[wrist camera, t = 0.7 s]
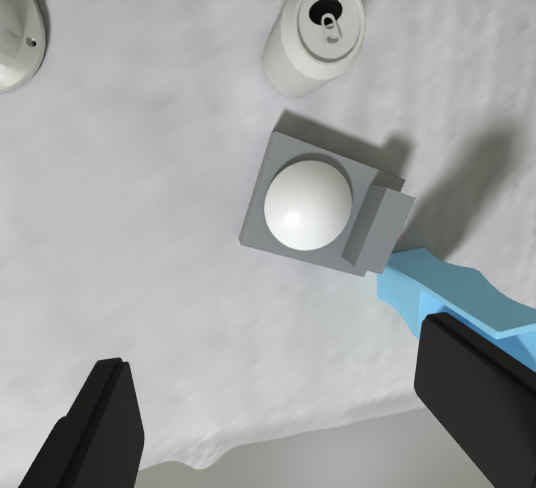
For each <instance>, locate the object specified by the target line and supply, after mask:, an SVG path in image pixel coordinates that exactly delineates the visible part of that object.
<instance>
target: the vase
mask: <svg viewBox="0 0 536 488" xmlns="http://www.w3.org/2000/svg"><path fill="white" fill-rule="evenodd" d="M377 293H378V298H379V299H380V300H382V301H384V302H386V303H387V304H389V305H390V306H392V307H393V308H394V309H395V310H397V311H398V312H399V314H400V315H401V316H402V317H403V319H404V320H405V322H406V323H407V325H408V326H409V328H410V330H411V332H412V333H413V335H414V336H415V337H416V338H417V339H419V340H420V332H421V324H422V321H423V320H424V319H425V317H426V316H427V315H428V314H433V313H440V312H447V313H449V314H450V315H452V316H453V317H455V318H456V319H458V320H459V321H461V322H462V323H464V324H465V325H467V326H468V327H470V328H471V329H473V330H474V331H475V332H477V333H478V334H480V335H481V336H483V337H484V338H486V339H487V340H489V341H490V342H492V343H493V344H495V345H496V346H498V347H499V348H500V349H502V350H503V351H505V352H506V353H508V354H509V355H511V356H512V357H514V358H515V359H517V360H518V361H520V362H521V363H523V364H524V365H526V366H527V367H528V368H530V369H531V370H533V371H534V372H536V309H534V308H531V307H528V306H525V305H523V304H520V303H518V302H516V301H514V300H512V299H510V298H508V297H507V296H505V295H504V294H502V293H501V292H499V291H498V290H497V289H496V288H495V287H494V286H492V285H491V284H490V283H489V282H488V280H487V279H486V278H485V277H484V276H483V275H482V274H481V273H480V271H478V270H476V269H473V268H468V267H462V266H457V265H453V264H449V263H446V262H444V261H441V260H440V259H438V258H436V257H435V256H434V255H432V254H431V253H430V252H429V251H428V250H427V249H426V248H425V247H423V248H417V249H412V250H407V251H401V252H396V253H391V255H390V257H389V259H388V262H387V264H386V266H385V268H384V271H383V273H382V274H379V273H377Z"/></svg>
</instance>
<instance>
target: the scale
mask: <svg viewBox="0 0 536 488" xmlns="http://www.w3.org/2000/svg"><path fill="white" fill-rule="evenodd" d="M404 182H405V179H402V178H399V177H397V176H394V175H391V174H389V173H386V172H383V171H381V170H378V169H375V168H373V167H370V166H367V165H365V164H362V163H359V162H357V161H354V160H351V159H349V158H346V157H343V156H341V155H338V154H335V153H333V152H330V151H327V150H325V149H322V148H319V147H317V146H314V145H311V144H309V143H306V142H303V141H301V140H298V139H295V138H293V137H290V136H287V135H285V134H282V133H279V132H277V131H276V132H273V133H271V136H270V139H269V142H268V145H267V149H266V152H265V155H264V158H263V162H262V165H261V168H260V171H259V174H258V178H257V181H256V184H255V187H254V191H253V194H252V197H251V200H250V203H249V207H248V210H247V213H246V216H245V219H244V223H243V226H242V229H241V232H240V236H239V241H240V244H241V245H244V246H247V247H251V248H255V249H259V250H263V251H267V252H270V253H274V254H278V255H282V256H286V257H289V258H293V259H297V260H301V261H305V262H308V263H312V264H316V265H320V266H324V267H328V268H331V269H335V270H339V271H343V272H347V273H350V274H354V275H358V276H362V277H364V275H365V273H366V271H367V270H368V271H371V272H375V273H379V274H382V273H383V271H384V268H385V266H386V264H387V262H388V259H389V257H390V255H391V253H392V250H393V248H394V246H395V243H396V241H397V239H398V237H399V236H400V235H401V234H400V232H401V230H402V228H403V225H404V223H405V221H406V218H407V216H408V214H409V212H410V209H411V207H412V205H413V203H414V200H415V198H414V197H412V196H409V195H406V194H403V193H400V191H401V189H402V186H403V184H404Z"/></svg>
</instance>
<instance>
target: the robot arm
mask: <svg viewBox="0 0 536 488" xmlns="http://www.w3.org/2000/svg"><path fill="white" fill-rule="evenodd" d="M35 42H36V46H35V47H34V43H35ZM45 45H46V43H45V28H44V23H43V18H42V15H41V12H40V10H39V7H38V5H37V2H36V1H35V0H0V93H2V92H6V91H11V90H14V89H16V88H18V87H20V86H22V85H23V84H25V83H26V82H27V81H28V80H30V79H31V78H32V77H33V75H34V74H35V73H36V71H37V70H38V69H39V66H40V64H41V62H42V59H43V56H44V51H45ZM414 389H415V392H416V394H417V395H418V397H419V398H420V399H421V400H422V402H423V403H424V404H425V405H426V406H427V407H428V409H429V410H430V411H431V412H432V413H433V415H434V416H435V417H436V418H437V419H438V420H439V422H440V423H441V424H442V425H443V426H444V428H445V429H446V430H447V431H448V432H449V433H450V435H451V436H452V437H453V438H454V440H456V442H457V443H458V444H459V445H460V446H461V448H462V449H463V450H464V451H465V453H466V454H467V455H468V456H469V457H470V459H471V460H472V461H473V462H474V463H475V464H476V466H477V467H478V468H479V469H480V470H481V472H482V473H483V474H484V475H485V476H486V477H487V479H488V480H489V481H490V482H491V483H492V485H493V486H494V487H495V488H536V372H534V371H533V370H531V369H530V368H528V367H527V366H526V365H524V364H523V363H521V362H520V361H518V360H517V359H515V358H514V357H512V356H511V355H509V354H508V353H506V352H505V351H503V350H502V349H500V348H499V347H498V346H496V345H495V344H493V343H492V342H490V341H489V340H487V339H486V338H484V337H483V336H481V335H480V334H478V333H477V332H475V331H474V330H473V329H471V328H470V327H468V326H467V325H465V324H464V323H462V322H461V321H459V320H458V319H456V318H455V317H453V316H452V315H450V314H449V313H447V312H440V313H433V314H428V315H427V316H426V317H425V319H424V320H423V321H422V324H421V332H420V340H419V348H418V356H417V364H416V372H415V379H414ZM143 447H144V430H143V425H142V420H141V416H140V411H139V407H138V402H137V397H136V393H135V388H134V383H133V379H132V374H131V369H130V365H129V363H128V362H123V361H122V359H121V358H111V359H104V360H99V361H97V362H96V364H95V366H94V367H93V369H92V371H91V373H90V374H89V376H88V378H87V380H86V382H85V383H84V385H83V387H82V389H81V390H80V392H79V394H78V396H77V397H76V399H75V401H74V403H73V405H72V406H71V408H70V410H69V412H68V413H67V415H66V416H64V417H62V418H61V419H59V420H58V422H57V423H56V424H55V426H54V427H53V429H52V431H51V432H50V434H49V436H48V438H47V439H46V441H45V443H44V444H43V446H42V448H41V449H40V451H39V453H38V455H37V456H36V458H35V460H34V461H33V463H32V465H31V467H30V468H29V470H28V472H27V473H26V475H25V477H24V479H23V480H22V482H21V484H20V485H19V487H18V488H134V485H135V481H136V477H137V472H138V468H139V464H140V460H141V456H142V451H143Z"/></svg>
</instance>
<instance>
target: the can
mask: <svg viewBox="0 0 536 488" xmlns="http://www.w3.org/2000/svg"><path fill="white" fill-rule="evenodd" d="M365 30H366V15H365V11H364V7H363V3H362V1H361V0H288V1H287V3H286V5H285V7H284V9H283V11H282V13H281V15H280V17H279V19H278V21H277V23H276V25H275V27H274V29H273V31H272V33H271V35H270V37H269V39H268V41H267V43H266V45H265V47H264V52H263V58H262V60H263V70H264V73H265V75H266V78H267V81H268V82H269V83H270V85H271V86H272V87H273V89H274V90H276V91H277V92H278V93H280V94H281V95H283V96H286V97H290V98H299V97H303V96H305V95H308V94H310V93H312V92H313V91H315V90H317V89H318V88H320V87H322V86H323V85H325V84H327V83H328V82H330V81H332V80H333V79H335V78H337V77H338V76H340V75H342V74H343V73H344V72H345V71H347V70H348V69H349V68H350V67H351V66H352V65H353V64H354V62H355V60H356V58H357V57H358V55H359V53H360V51H361V47H362V43H363V39H364V34H365Z"/></svg>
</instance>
